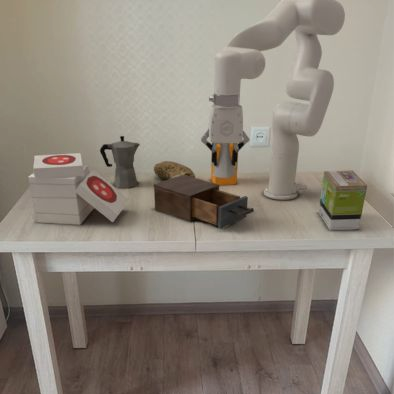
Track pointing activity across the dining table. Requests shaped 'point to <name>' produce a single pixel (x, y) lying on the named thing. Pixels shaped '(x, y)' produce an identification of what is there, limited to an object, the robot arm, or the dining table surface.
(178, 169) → the sponge
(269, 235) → the dining table surface
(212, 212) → the drawer
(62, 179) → the pizza boxes
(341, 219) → the tea box
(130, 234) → the dining table surface
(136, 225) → the dining table surface
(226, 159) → the flask
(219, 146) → the orange juice
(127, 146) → the coffeepot
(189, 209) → the cabinet
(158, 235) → the dining table surface
